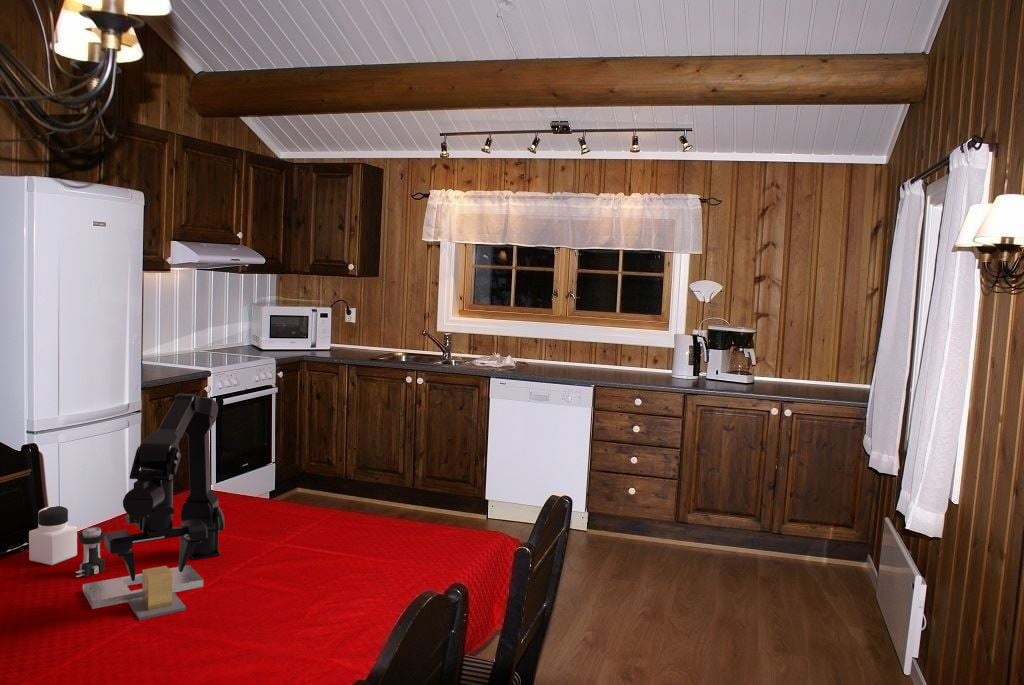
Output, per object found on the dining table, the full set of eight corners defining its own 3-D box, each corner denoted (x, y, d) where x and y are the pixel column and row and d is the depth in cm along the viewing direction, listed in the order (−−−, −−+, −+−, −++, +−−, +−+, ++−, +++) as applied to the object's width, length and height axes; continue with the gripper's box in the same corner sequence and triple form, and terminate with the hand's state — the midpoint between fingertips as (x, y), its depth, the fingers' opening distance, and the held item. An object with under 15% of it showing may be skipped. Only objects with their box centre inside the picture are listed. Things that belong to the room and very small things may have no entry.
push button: (84, 581, 178) (84, 537, 177) (67, 576, 180) (67, 533, 179) (110, 571, 184) (110, 528, 183) (93, 566, 186) (93, 524, 185)
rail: (189, 571, 186) (189, 564, 186) (203, 586, 179) (203, 579, 178) (82, 591, 173) (82, 584, 173) (92, 608, 165) (92, 601, 165)
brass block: (165, 597, 171) (166, 565, 170) (172, 605, 167) (172, 572, 166) (142, 602, 168) (142, 569, 167) (148, 610, 164) (148, 577, 164)
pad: (173, 594, 174) (173, 591, 174) (186, 610, 167) (186, 607, 167) (128, 603, 168) (128, 600, 168) (139, 620, 161) (139, 617, 161)
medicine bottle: (77, 555, 192) (77, 506, 191) (51, 565, 186) (51, 514, 184) (54, 550, 195) (54, 502, 193) (28, 560, 188) (28, 510, 187)
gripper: (192, 486, 177) (191, 555, 179) (98, 498, 166) (98, 571, 167) (209, 499, 168) (208, 572, 170) (111, 513, 157) (110, 590, 159)
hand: (157, 575), depth 167 cm, fingers open, 9 cm apart
